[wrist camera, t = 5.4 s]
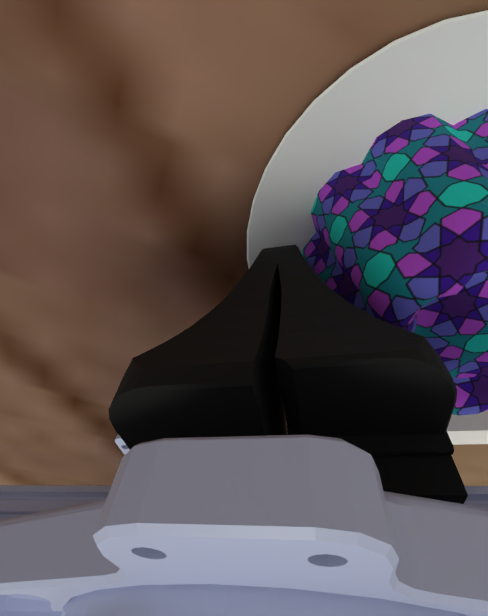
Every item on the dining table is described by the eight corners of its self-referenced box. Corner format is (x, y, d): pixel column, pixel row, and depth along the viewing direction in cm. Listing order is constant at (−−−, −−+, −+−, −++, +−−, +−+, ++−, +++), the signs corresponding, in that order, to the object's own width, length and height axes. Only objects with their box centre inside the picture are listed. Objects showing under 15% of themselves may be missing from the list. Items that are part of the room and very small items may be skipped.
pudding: (495, 373, 15) (575, 494, 11) (236, 343, 15) (221, 451, 11) (783, 38, 8) (1359, 30, 4) (272, -16, 8) (265, -87, 4)
